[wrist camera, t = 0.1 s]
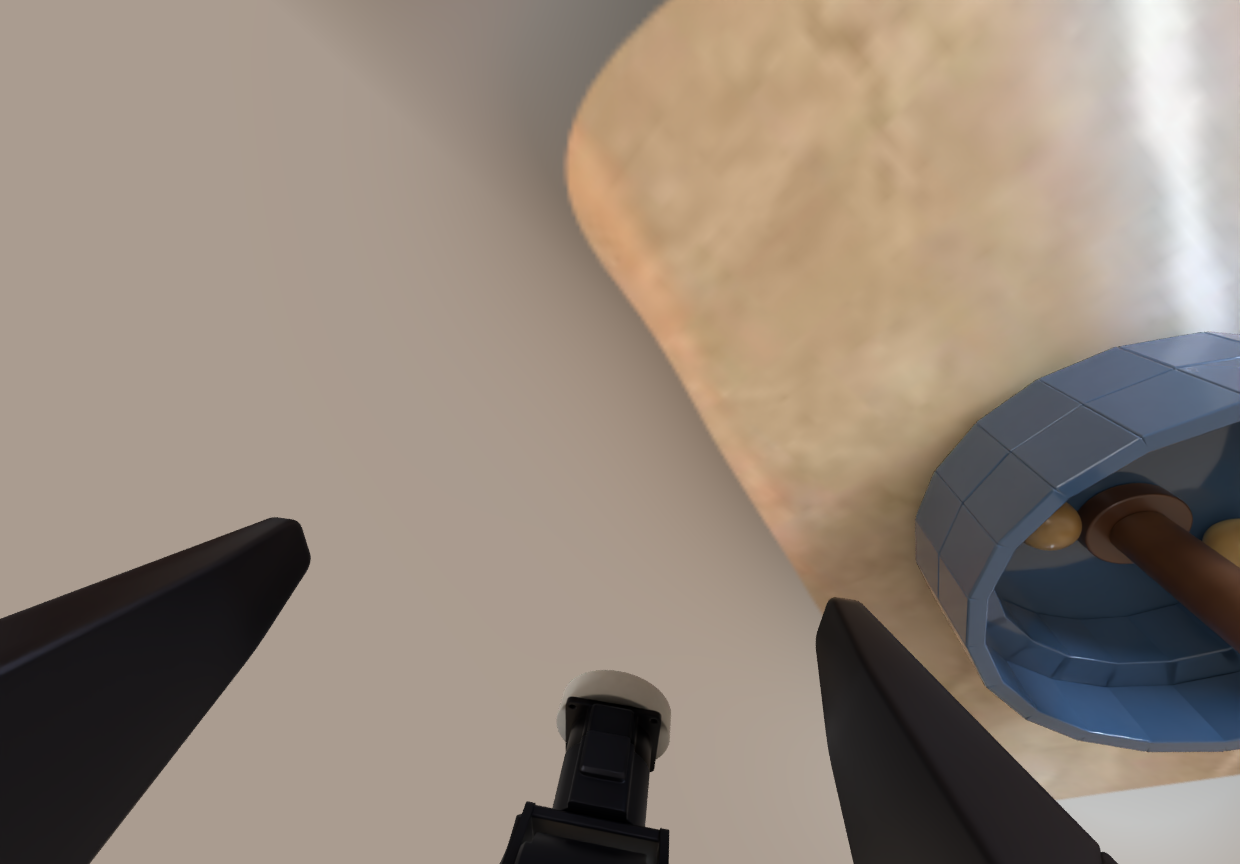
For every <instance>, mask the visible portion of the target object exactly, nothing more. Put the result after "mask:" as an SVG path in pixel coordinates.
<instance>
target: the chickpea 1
mask: <svg viewBox="0 0 1240 864" xmlns="http://www.w3.org/2000/svg"><path fill="white" fill-rule="evenodd" d="M1081 531H1082V521H1081V518H1080V516H1079V514H1078V513H1077V511H1076V510H1075V509H1074V508H1073V507H1072V506H1071V505H1070V504H1068V503H1067V502H1065V503H1064V504H1063V505H1062V506H1061V507H1060V508H1059V509H1058V510H1057V511H1056V512H1055V513H1054V514H1053V515H1052V516H1051V517H1050V518H1048V519H1047V520H1046V521H1045V522H1044V523H1043V524H1042V525H1041V526H1040V527H1039V528H1038V529H1037V530H1036V531H1035V532H1034V533H1033V534H1032V535H1030V536H1029V537H1028V538H1027V539H1026V540H1025V541H1024V543H1025V544H1027V545H1029V546H1031V547H1033V548H1037V549H1041V550H1060V549H1063V548H1066V547H1068V546H1070V545H1072V544H1073V543H1074V542H1075V541H1076V540H1077V539H1078V538H1079V536H1080V534H1081Z"/></svg>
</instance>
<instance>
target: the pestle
mask: <svg viewBox="0 0 1240 864" xmlns="http://www.w3.org/2000/svg"><path fill="white" fill-rule="evenodd" d="M1077 513H1078V514H1079V516H1080V518H1081V521H1082V531H1081V534H1080V536H1079V538H1078V539H1077V540H1078V541H1079V542H1080V543H1081V544H1082V545H1083V546H1084V547H1085V548H1086V549H1087V550H1088V551H1089V552H1090V553H1091V554H1093V555H1094V556H1095V557H1097V558H1099V559H1101V560H1103V561H1106V562H1110V563H1115V564H1136V565H1137V566H1138V567H1139V568H1140V569H1141V570H1143V571H1144V572H1145V573H1146V574H1147V575H1148V576H1150V577H1151V578H1152V579H1153V580H1154V581H1155V582H1157V583H1158V584H1159V585H1160V586H1161V587H1162V588H1164V589H1165V590H1166V591H1167V592H1168V593H1169V594H1171V595H1172V596H1173V597H1174V598H1175V599H1176V600H1178V601H1179V602H1180V603H1181V604H1182V605H1183V606H1185V607H1186V608H1187V609H1188V610H1189V611H1190V612H1192V613H1193V614H1194V615H1195V616H1196V617H1197V618H1199V619H1200V620H1201V621H1202V622H1203V623H1204V624H1206V625H1207V626H1208V627H1209V628H1210V629H1211V630H1213V631H1214V632H1215V633H1216V634H1217V635H1218V636H1220V637H1221V638H1222V639H1223V640H1224V641H1225V642H1227V643H1228V644H1229V645H1230V646H1231V647H1232V648H1234V649H1235V650H1236V651H1237V652H1238V653H1239V654H1240V568H1239V567H1238V566H1236V565H1235V564H1234V563H1232V562H1231V561H1229V560H1228V559H1226V558H1225V557H1224V556H1222V555H1221V554H1219V553H1218V552H1216V551H1215V550H1214V549H1212V548H1211V547H1209V546H1208V545H1206V544H1205V543H1204V542H1202V541H1201V540H1199V539H1198V538H1196V537H1195V536H1194V535H1192V534H1191V533H1189V532H1190V529H1191V527H1192V523H1193V516H1192V512H1191V510H1190V508H1189V507H1188V505H1187V504H1186V503H1185V502H1184V501H1182V500H1181V499H1179V498H1178V497H1176V496H1175V495H1173V494H1172V493H1170V492H1168V491H1167V490H1165V489H1164V488H1161V487H1159V486H1156V485H1152V484H1146V483H1130V484H1123V485H1119V486H1115V487H1112V488H1109V489H1107V490H1104V491H1102V492H1100V493H1098V494H1097V495H1095V496H1093V497H1092V498H1091V499H1089V500H1088V501H1087V502H1086V503H1085V504H1084V505H1083V506H1082V507H1081V508H1080V509H1079V511H1078V512H1077Z"/></svg>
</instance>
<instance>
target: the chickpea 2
mask: <svg viewBox="0 0 1240 864" xmlns="http://www.w3.org/2000/svg"><path fill="white" fill-rule="evenodd" d="M1202 542H1204V543H1205V544H1206V545H1208V546H1209V547H1211V548H1212V549H1214V550H1215V551H1216V552H1218V553H1219V554H1221V555H1222V556H1224V557H1225V558H1226V559H1228V560H1229V561H1231V562H1232V563H1234V564H1235V565H1236V566H1238V567H1239V568H1240V518H1236V519H1228V520H1224V521H1220V522H1218V523H1216V524H1214V525H1212V526H1211V527H1209V528H1208V529H1207V530H1206V532H1205V533H1204V535H1203V539H1202Z"/></svg>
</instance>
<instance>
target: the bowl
mask: <svg viewBox="0 0 1240 864" xmlns="http://www.w3.org/2000/svg"><path fill="white" fill-rule="evenodd" d="M976 423H977V424H974V425H973V427H972V428H971V429H970V430H969V431H968V432H967V434H966V435H965V436H964V437H963V438H962V439H961V441H960V442H959V443H958V444H957V445H956V446H955V448H954V449H953V450H952V451H951V452H950V453H949V455H948V456H947V457H946V458H945V459H944V460H943V462H942V463H941V464H940V465H939V466H938V467H937V469H936V471H934V473H933V475H932V478H931V480H930V483H929V485H928V488H927V490H926V492H925V495H924V497H923V500H922V502H921V505H920V507H919V510H918V512H917V514H916V518H915V538H916V561H917V565H918V567H919V569H920V571H921V573H922V575H923V577H924V579H925V581H926V583H927V585H928V587H929V589H930V591H931V593H932V595H933V597H934V598H935V600H936V602H937V604H938V605H939V607H940V609H941V610H942V612H943V614H944V616H945V617H946V619H947V621H948V623H949V624H950V626H951V628H952V630H953V631H954V633H955V635H956V636H957V638H958V640H959V642H960V643H961V645H962V647H963V649H964V650H965V652H966V654H967V656H968V657H969V659H970V661H971V663H972V664H973V666H974V668H975V669H976V671H977V673H978V675H979V676H980V678H981V680H982V682H983V683H984V685H985V686H986V687H987V688H988V689H989V690H990V691H991V692H993V693H994V694H995V695H996V696H998V697H999V698H1000V699H1001V700H1002V701H1004V702H1005V703H1006V704H1007V705H1009V706H1010V707H1011V708H1012V709H1013V710H1015V711H1016V712H1017V713H1018V714H1020V715H1021V716H1022V717H1023V718H1025V719H1026V720H1028V721H1031V722H1033V723H1036V724H1038V725H1041V726H1043V727H1046V728H1048V729H1051V730H1053V731H1056V732H1058V733H1061V734H1063V735H1066V736H1068V737H1071V738H1073V739H1076V740H1078V741H1079V740H1080V741H1084V742H1090V743H1096V744H1102V745H1108V746H1114V747H1120V748H1126V749H1132V750H1138V751H1147V752H1223V751H1231V750H1238V749H1240V654H1239V653H1238V652H1237V651H1236V650H1235V649H1234V648H1232V647H1231V646H1230V645H1229V644H1228V643H1227V642H1225V641H1224V640H1223V639H1222V638H1221V637H1220V636H1218V635H1217V634H1216V633H1215V632H1214V631H1213V630H1211V629H1210V628H1209V627H1208V626H1207V625H1206V624H1204V623H1203V622H1202V621H1201V620H1200V619H1199V618H1197V617H1196V616H1195V615H1194V614H1193V613H1192V612H1190V611H1189V610H1188V609H1187V608H1186V607H1185V606H1183V605H1182V604H1181V603H1180V602H1179V601H1178V600H1176V599H1175V598H1174V597H1173V596H1172V595H1171V594H1169V593H1168V592H1167V591H1166V590H1165V589H1164V588H1162V587H1161V586H1160V585H1159V584H1158V583H1157V582H1155V581H1154V580H1153V579H1152V578H1151V577H1150V576H1148V575H1147V574H1146V573H1145V572H1144V571H1143V570H1141V569H1140V568H1139V567H1138V566H1137V565H1136V564H1115V563H1110V562H1106V561H1103V560H1101V559H1099V558H1097V557H1095V556H1094V555H1093V554H1091V553H1090V552H1089V551H1088V550H1087V549H1086V548H1085V547H1084V546H1083V545H1082V544H1081V543H1080V542H1079V541H1078V540H1076V541H1075V542H1074V543H1073V544H1072V545H1070V546H1068V547H1066V548H1063V549H1060V550H1041V549H1037V548H1033V547H1031V546H1029V545H1027V544H1025V543H1024V541H1025V540H1026V539H1027V538H1028V537H1029V536H1030V535H1032V534H1033V533H1034V532H1035V531H1036V530H1037V529H1038V528H1039V527H1040V526H1041V525H1042V524H1043V523H1044V522H1045V521H1046V520H1047V519H1048V518H1050V517H1051V516H1052V515H1053V514H1054V513H1055V512H1056V511H1057V510H1058V509H1059V508H1060V507H1061V506H1062V505H1063V504H1064V503H1065V502H1067V503H1068V504H1070V505H1071V506H1072V507H1073V508H1074V509H1075V510H1076V511H1077V512H1078V511H1079V509H1080V508H1081V507H1082V506H1083V505H1084V504H1085V503H1086V502H1087V501H1088V500H1089V499H1091V498H1092V497H1093V496H1095V495H1097V494H1098V493H1100V492H1102V491H1104V490H1107V489H1109V488H1112V487H1115V486H1119V485H1123V484H1130V483H1146V484H1152V485H1156V486H1159V487H1161V488H1164V489H1165V490H1167V491H1168V492H1170V493H1172V494H1173V495H1175V496H1176V497H1178V498H1179V499H1181V500H1182V501H1184V502H1185V503H1186V504H1187V505H1188V507H1189V508H1190V510H1191V512H1192V516H1193V523H1192V527H1191V529H1190V532H1189V533H1191V534H1192V535H1194V536H1195V537H1196V538H1198V539H1199V540H1201V541H1202V539H1203V535H1204V533H1205V532H1206V530H1207V529H1208V528H1209V527H1211V526H1212V525H1214V524H1216V523H1218V522H1220V521H1224V520H1228V519H1236V518H1240V334H1230V333H1218V332H1204V333H1203V332H1199V333H1193V334H1187V335H1182V336H1176V337H1170V338H1165V339H1159V340H1153V341H1147V342H1142V343H1136V344H1130V345H1125V346H1119V347H1118V348H1117V347H1114V348H1111V349H1109V350H1106V351H1104V352H1102V353H1099V354H1097V355H1094V356H1092V357H1090V358H1087V359H1085V360H1082V361H1080V362H1078V363H1075V364H1073V365H1070V366H1068V367H1065V368H1063V369H1061V370H1058V371H1056V372H1053V373H1051V374H1049V375H1046V376H1044V377H1041V378H1039V379H1038V380H1035V381H1034V382H1032V383H1031V384H1030V385H1028V386H1027V387H1025V388H1024V389H1022V390H1021V391H1020V392H1018V393H1017V394H1015V395H1014V396H1012V397H1011V398H1010V399H1008V400H1007V401H1005V402H1004V403H1002V404H1001V405H1000V406H998V407H997V408H995V409H994V410H993V411H991V412H990V413H988V414H987V415H985V416H984V417H983V418H981V419H980V420H978V421H977V422H976Z"/></svg>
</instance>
